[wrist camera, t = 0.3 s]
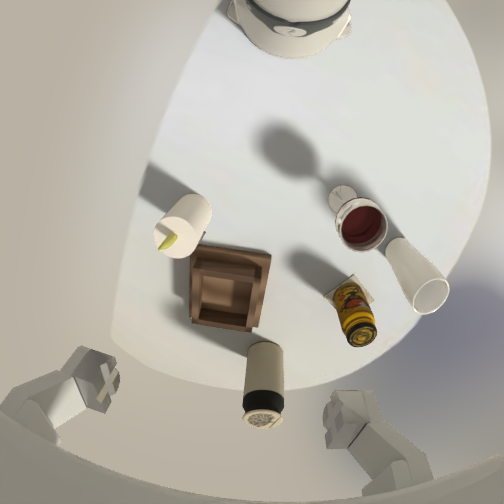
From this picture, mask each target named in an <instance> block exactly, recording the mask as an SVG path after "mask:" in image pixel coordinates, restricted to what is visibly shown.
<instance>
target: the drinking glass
mask: <svg viewBox="0 0 504 504" xmlns="http://www.w3.org/2000/svg"><path fill="white" fill-rule="evenodd" d="M385 255H386V258H387V260H388V262H389V263H390V265H391V267H392V269H393V271H394V273H395V275H396V278H397V280H398V282H399V284H400V286H401V289H402V291H403V293H404V295H405V297H406V298H407V300H408V302H409V303H410V305H411V306H412V308H413V309H414V311H415V312H417V313H419V314H429V313H431V312H434V311H435V310H437V309H438V308H439V307H440V306H441V305H442V304H443V303H444V302H445V300H446V298H447V296H448V293H449V284H448V282H447V281H446V279H445V278H444V276H443V275H442V274H441V272H440V271H439V270H438V269H437V268H436V267H435V266H434V265H433V264H432V263H431V262H430V261H429V260H428V259H427V258H426V257H425V256H424V255H422V254H421V253H420V252H419V251H418V250H417V249H416V248H415V247H413V246H412V245H411V244H410V243H409V241H408V240H406V239H405V238H395V239H393V240H392V241H390V242H389V244H388V245H387V247H386V250H385Z"/></svg>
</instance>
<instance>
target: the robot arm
mask: <svg viewBox="0 0 504 504" xmlns="http://www.w3.org/2000/svg"><path fill="white" fill-rule="evenodd" d="M349 4H350V0H231V3H230V5H229V7H228V9H227V15H228V17H229V18H230V19H231V20H232V21H234V22H235V23H237V24H239V25H240V26H241V27H242V28H243V30H244V32H245V33H246V35H247V37H248V38H249V39H250V40H251V41H252V43H254V44H255V45H256V46H257V47H258V48H260V49H261V50H263V51H265V52H267V53H269V54H271V55H274V56H278V57H282V58H290V59H297V58H305V57H309V56H312V55H315V54H317V53H319V52H321V51H322V50H324V49H325V48H326V47H327V46H329V45H330V44H331V43H332V42H333V41H335V40H339V39H342V38H345V37H348V36H349V35H350V34H351V32H352V27H351V15H350V12H349ZM116 364H117V363H116V359H115V357H113V356H110V355H107V354H104V353H101V352H98V351H95V350H92V349H90V348H87V347H84V346H80V347H78V348H77V349H76V350H75V352H74V353H73V354H72V356H71V357H70V358H69V360H68V361H67V362H66V364H65V365H64V366H63V368H62V369H61V370H60V371H58V370H56V371H53V372H51V373H49V374H46V375H44V376H42V377H39V378H37V379H34V380H32V381H29V382H27V383H24V384H22V385H19V386H17V387H14V388H13V389H12V390H11V391H10V393H9V394H8V395H7V397H6V398H5V400H4V401H3V402H2V403H1V405H0V504H504V457H502V456H501V455H494V456H491V457H489V458H487V459H485V460H483V461H481V462H478V463H477V464H474V465H472V466H469V467H467V468H465V469H462V470H460V471H457V472H454V473H451V474H449V475H446V476H443V477H440V478H437V479H433V475H432V472H431V469H430V466H429V463H428V460H427V457H426V454H425V453H424V452H422V451H421V450H420V449H418V448H417V447H416V446H415V445H414V444H413V443H411V442H410V441H409V440H408V439H407V438H405V437H404V436H403V435H402V434H400V433H399V432H398V431H397V430H396V429H395V428H393V427H392V426H391V425H390V424H389V423H388V422H383V419H382V416H381V413H380V410H379V407H378V404H377V401H376V398H375V396H374V392H373V391H372V390H335V391H334V392H332V394H331V396H330V397H331V402H329V403H327V404H326V407H325V408H324V412H323V425H324V427H325V428H326V429H327V430H328V431H327V433H326V434H325V440H326V446H327V449H348V451H349V452H350V453H351V455H352V456H353V457H354V458H355V459H356V461H357V462H358V463H359V464H360V465H361V467H362V468H363V469H364V470H365V471H366V473H367V474H368V475H369V476H370V477H371V479H372V481H371V482H370V483H368V484H367V485H366V486H365V487H364V488H363V489H362V495H363V496H362V497H356V498H348V499H339V500H329V501H315V502H261V501H247V500H236V499H227V498H219V497H212V496H206V495H200V494H195V493H190V492H184V491H180V490H176V489H171V488H167V487H163V486H159V485H156V484H152V483H149V482H145V481H142V480H139V479H135V478H132V477H129V476H126V475H123V474H121V473H118V472H115V471H112V470H110V469H107V468H104V467H102V466H99V465H96V464H95V463H92V462H90V461H87V460H85V459H83V458H81V457H79V456H77V455H74V454H72V453H70V452H68V451H66V450H64V449H62V448H60V447H58V446H59V444H60V443H61V438H60V436H59V435H58V434H57V432H56V431H55V428H57V427H58V426H60V425H61V424H63V423H65V422H66V421H68V420H69V419H71V418H72V417H74V416H76V415H77V414H79V413H80V412H82V411H83V410H85V409H86V408H87V407H88V408H91V409H93V410H96V411H99V412H102V413H106V411H107V409H108V407H109V405H110V403H111V398H110V396H111V395H113V394H115V393H116V391H117V389H118V387H119V383H120V375H119V372H118V370H117V369H116V368H115V366H116Z"/></svg>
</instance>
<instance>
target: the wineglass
mask: <svg viewBox="0 0 504 504" xmlns="http://www.w3.org/2000/svg"><path fill="white" fill-rule="evenodd" d="M328 201H329V206H330V208H331V209H332V210H333V211H334V212H336V213H337V216H336V220H335V224H336V231H337V233H338V235H339V237H340V238H341V240H342V242H343V244H344V245H345V246H346V247H347V248H348V249H350V250H352V251H354V252H367V251H370V250H372V249H375V248H376V247H377V246H378V245H380V244H381V243H382V241H383V240H384V238H385V237H386V234H387V230H388V221H387V218H386V215H385V214H384V212H383V211H382V210H381V209H380V208H379V207H378V205H377V204H376V203H375V202H373V201H371V200H370V199H367V198H362V197H359V198H357V195H356V192H355V191H354V190H353V189H352V188H351V187H349V186H345V185H342V186H338V187H336V188H334V189H333V190H332V191H331V193H330V195H329V199H328Z"/></svg>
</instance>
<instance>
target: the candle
mask: <svg viewBox="0 0 504 504" xmlns="http://www.w3.org/2000/svg"><path fill="white" fill-rule="evenodd" d="M211 215H212V210H211V206H210V204H209V202H208V201H207V200H206V199H205V198H204V197H202V196H200V195H198V194H188V195H185V196H183V197H182V198H181V199H180V200H179V201H178V202H177V203H176V204H175V205H174V206H173V207H172V208H171V209H170V210H169V211H168V212H167V213H166V214H165V215H164V217H163V218H162V219H161V220H160V221H159V222H158V223H157V225H156V226H155V229H154V240H155V243H156V245H157V247H158V250H159V251H161V252H163V253H164V254H165V255H167V256H169V257H172V258H184V257H187V256H189V255H190V254H191V253H192V252H193V251H194V250H195V248H196V246H197V244H199V243H200V241H201V240H202V238H203V236H204V234H205V233H206V232H205V231H204V230H205V229H206V227H207V225H208V223H209V221H210V219H211Z"/></svg>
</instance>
